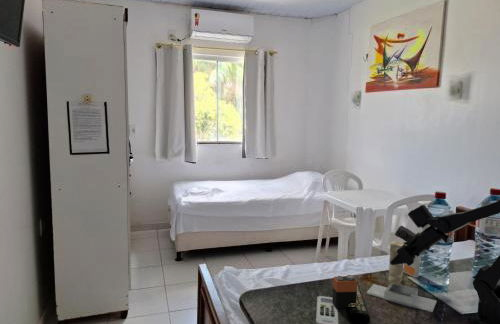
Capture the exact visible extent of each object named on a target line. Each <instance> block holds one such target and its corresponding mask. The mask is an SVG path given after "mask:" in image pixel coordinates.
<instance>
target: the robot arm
mask: <svg viewBox="0 0 500 324" xmlns="http://www.w3.org/2000/svg"><path fill="white" fill-rule="evenodd" d="M498 214H500V198H499V199H498V200H497V201H493V202H489V203H486V204H484V205H482V206H479V207H476V208H473V209H469V210H467V211H464V212H463V211H462V212H461V211H460V212H454V213H449V214H444V215H436V216H433V214H432V213H431V212H430V210H428V208H427V206H426V205H425V204H421V205H420V206H417V207H416V208H414V209H413V210H411V211H410V212H408V213H407V217H409V219H410V220H411V221H412V223H414V225H415V226H416V227H417V228H418V229H419V228H421V229H422V231H420V232H417V233H416V232H413V231H412V230H411V229H409V228H408V227H405V226H404V225H400V226H398V228H397V230H396V231H395V233H394V236H395V237H397V238H399V239H402V240H403V241H404V242H403V243H404V246H401V247H399V249H398V250H397V253H398V255H397V256H396V257H395V258H394V259H393V260H392V261H391V262H390V261H389V262H390V263H391V265H396V264H403V265H404V264H405V263H406V264H407V265H408V266H410V265H411V264H413V263H414V262H415V259H416V257H415V256H417V257H418V256H419V255H420V254H421V253H422V252H425V251H428V250H430V249H431V248H432V247H434V245H437V244H438V243H439V242H440V241H442V240H443V242H444V243H445V244H447V243H451V234H449V233H453V232H455V231H458V230H461V229H462V228H464V227H466V226H467V225H469V224H471V223H473V222H475V221H478V220H479V221H480V220H482V219H485V218H488V217H492V216H495V215H498ZM423 229H424V230H423ZM472 279H473V281H472V286H473V288H474V290H475V291H476V294H477V297H478V304H477V312H476V313H477V316H478V320H480V321H483V322H487V323H491V324H500V254H499V255H498V256H497V258H496V259H495V260H494V261H493V263H492V264H491V265H489V264H485V265H484V266H482V267H480V268H478V271H477V273H476V274H475V275H473V276H472Z"/></svg>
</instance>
